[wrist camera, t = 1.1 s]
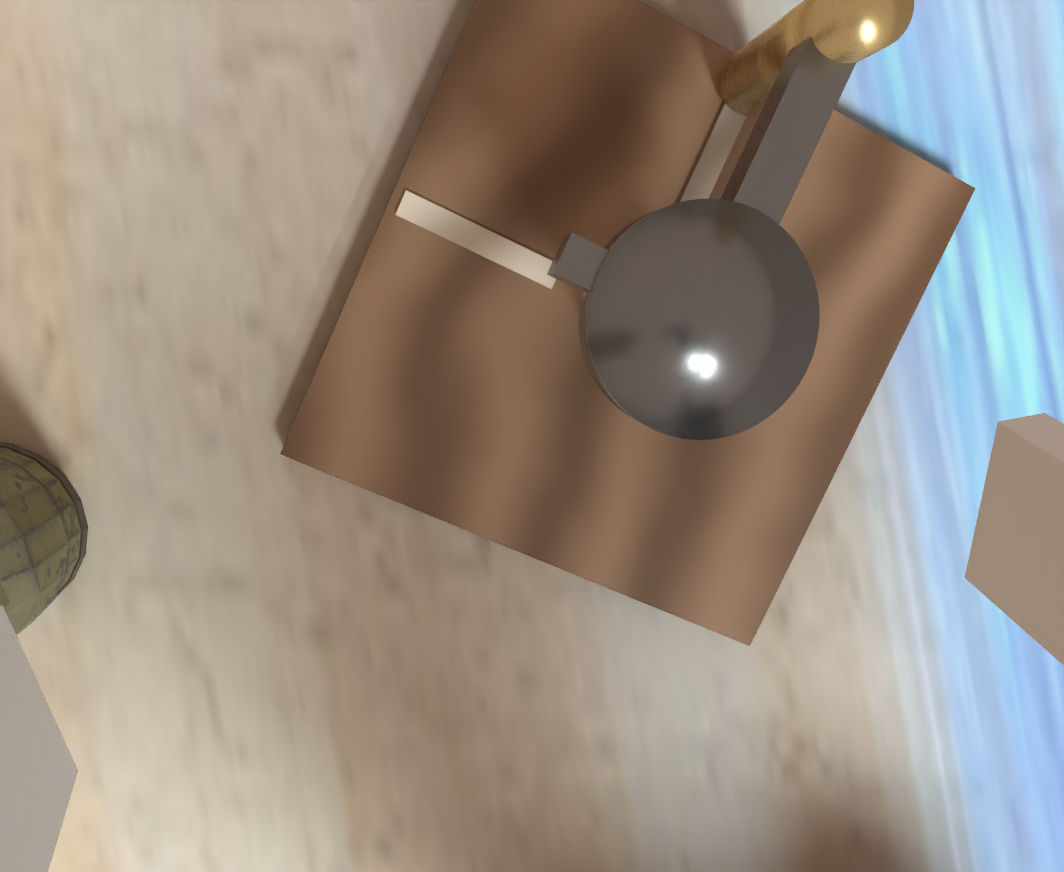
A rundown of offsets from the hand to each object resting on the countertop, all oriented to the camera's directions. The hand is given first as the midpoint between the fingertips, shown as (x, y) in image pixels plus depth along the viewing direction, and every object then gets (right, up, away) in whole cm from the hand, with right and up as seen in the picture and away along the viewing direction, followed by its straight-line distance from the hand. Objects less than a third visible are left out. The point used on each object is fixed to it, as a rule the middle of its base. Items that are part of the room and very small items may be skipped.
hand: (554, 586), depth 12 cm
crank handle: (+6, +12, +29) cm, 32 cm away
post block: (+5, +8, +32) cm, 33 cm away
